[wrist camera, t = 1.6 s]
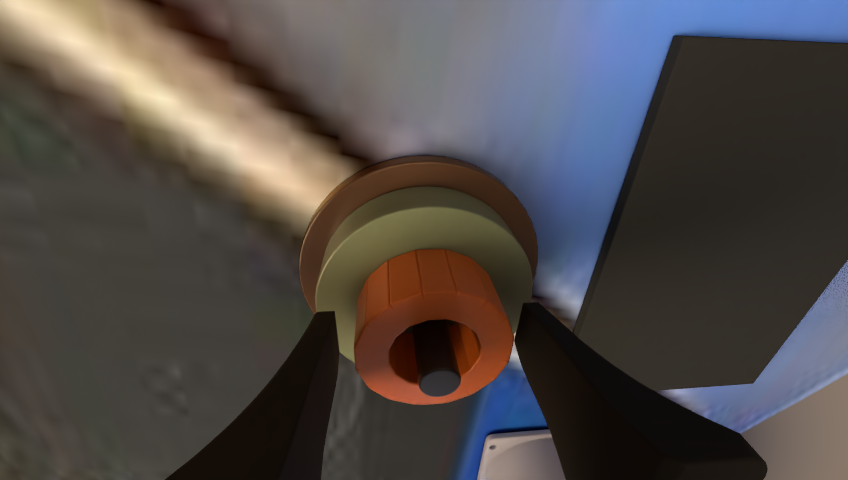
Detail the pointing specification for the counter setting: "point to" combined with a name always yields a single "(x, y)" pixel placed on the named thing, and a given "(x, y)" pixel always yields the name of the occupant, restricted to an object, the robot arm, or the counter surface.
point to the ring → (429, 300)
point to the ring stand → (417, 246)
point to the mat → (724, 213)
